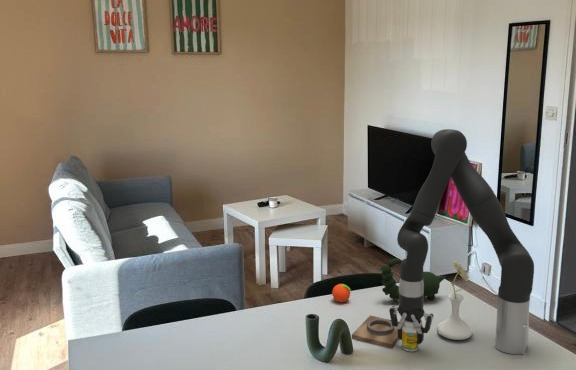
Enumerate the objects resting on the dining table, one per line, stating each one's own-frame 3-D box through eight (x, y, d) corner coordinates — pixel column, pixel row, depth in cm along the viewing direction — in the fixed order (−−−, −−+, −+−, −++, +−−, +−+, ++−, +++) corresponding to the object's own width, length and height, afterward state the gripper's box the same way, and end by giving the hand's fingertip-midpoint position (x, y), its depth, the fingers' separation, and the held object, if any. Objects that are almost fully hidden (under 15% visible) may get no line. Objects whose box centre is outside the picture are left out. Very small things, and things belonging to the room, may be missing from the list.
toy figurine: (388, 312, 209) (452, 301, 212) (384, 265, 205) (449, 254, 207) (380, 302, 218) (442, 291, 221) (377, 256, 214) (439, 246, 216)
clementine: (355, 300, 216) (355, 283, 215) (348, 307, 211) (347, 289, 209) (337, 296, 221) (337, 279, 219) (329, 302, 215) (328, 285, 213)
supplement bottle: (415, 343, 183) (415, 315, 181) (421, 351, 178) (422, 323, 176) (399, 344, 182) (399, 317, 180) (404, 352, 177) (405, 324, 175)
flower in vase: (474, 344, 181) (477, 271, 176) (437, 341, 184) (440, 269, 178) (469, 325, 194) (473, 257, 188) (435, 323, 196) (438, 255, 191)
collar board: (408, 327, 194) (408, 319, 193) (391, 348, 180) (391, 339, 180) (370, 319, 201) (370, 311, 200) (351, 338, 187) (351, 330, 187)
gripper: (437, 291, 176) (435, 340, 179) (393, 283, 183) (392, 331, 186) (430, 300, 169) (429, 351, 173) (385, 291, 176) (384, 341, 180)
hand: (410, 340), depth 180 cm, fingers closed on supplement bottle, 5 cm apart
